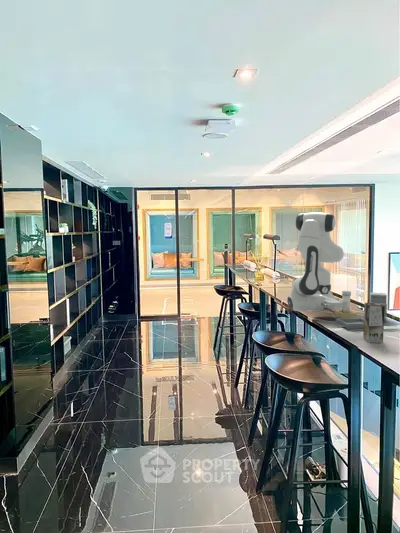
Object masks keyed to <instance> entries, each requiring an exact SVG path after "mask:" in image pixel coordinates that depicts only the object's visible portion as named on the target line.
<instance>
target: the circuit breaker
mask: <svg viewBox="0 0 400 533" xmlns="http://www.w3.org/2000/svg"><path fill="white" fill-rule="evenodd" d="M369 293H370V296H369V303H380V304H382V305H384V306H385V312H384V322H386V321H387V315H388V313H387V312H388V303H387V299H388V298H387V297H388V294H387V293H385V292H369Z"/></svg>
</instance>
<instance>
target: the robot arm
mask: <svg viewBox="0 0 400 533" xmlns="http://www.w3.org/2000/svg"><path fill="white" fill-rule="evenodd" d="M336 222H337V221H336V217H335V216H334V214H332V213H329V212H327V213H325V212H301V213H299V214H297V215H296V218H295V222H294V223H295V227H296V229H297V230H298V231H299V235H298V236H299V237H298V242H297V243H298V246H297V247H298V251H299V252H300V256H301V258H302V260H303V261H304V262H305V263H304V264H305V266H304V274H303V275H302V277H298V278H296V279H295V280H293V282H292V287H291V291H290V293H289V294H288V296H287V299H286V300H287V305H288V307H289V309H290V310H291V311H294V312H308V311H312V312H317V311H319V312H321V311H323V310H324V309H330V310H342V308H343V306H344V305H348V302H342V301H341V300H340V298H337V297H336V298H335V297H334V296H333V292H332V291H331V290H332V285H331V272H330V270H329V269H327V268H326V267H324V266H322V263H328V264H329V263H331V264H332V263H340V262H341V261H342V260H343V258H344V256H345V255H344V254H345V253H344V250H343V248H342V247H341V246H340V245H337V243H335V242H334V240H332V238H331V232H332V231H333V230H334V229H335V227H336Z"/></svg>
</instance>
